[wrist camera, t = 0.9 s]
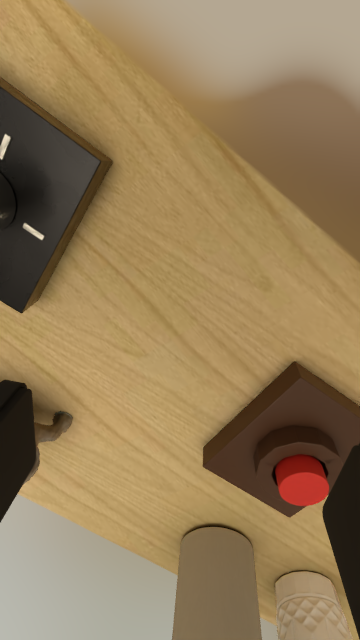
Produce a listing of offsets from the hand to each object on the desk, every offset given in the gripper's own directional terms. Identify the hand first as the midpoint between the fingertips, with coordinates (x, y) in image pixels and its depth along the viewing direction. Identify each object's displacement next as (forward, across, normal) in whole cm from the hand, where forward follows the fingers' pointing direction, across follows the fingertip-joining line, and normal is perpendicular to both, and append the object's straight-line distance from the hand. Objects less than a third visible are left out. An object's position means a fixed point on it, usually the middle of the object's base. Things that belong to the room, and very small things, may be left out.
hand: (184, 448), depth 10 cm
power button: (+12, -10, +13) cm, 21 cm away
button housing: (+16, -10, +13) cm, 23 cm away
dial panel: (+16, +14, -4) cm, 21 cm away
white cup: (+16, -18, +35) cm, 42 cm away
